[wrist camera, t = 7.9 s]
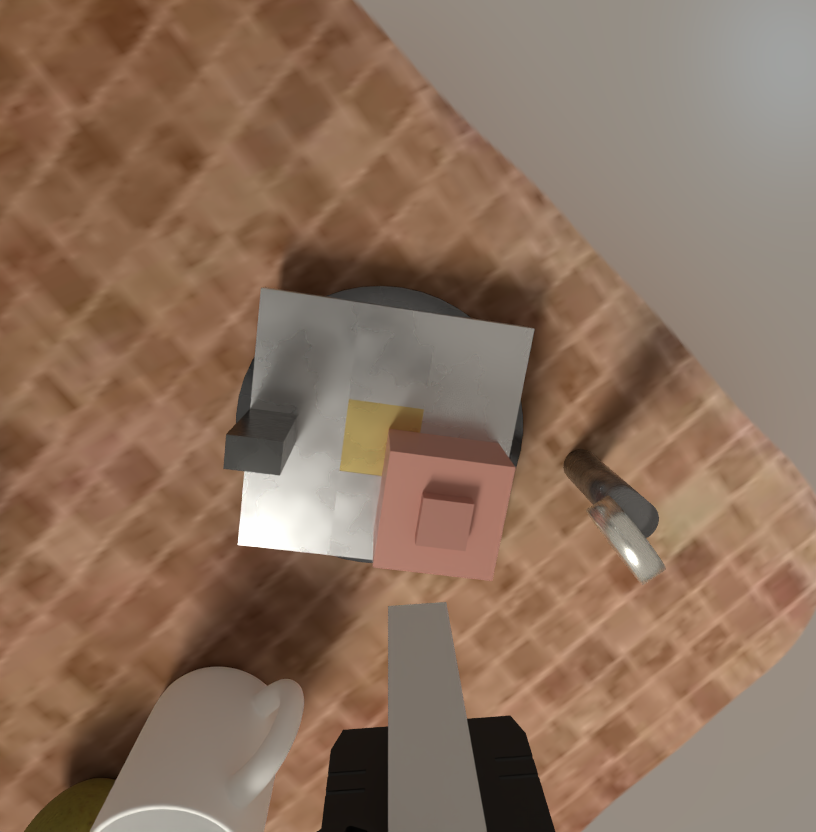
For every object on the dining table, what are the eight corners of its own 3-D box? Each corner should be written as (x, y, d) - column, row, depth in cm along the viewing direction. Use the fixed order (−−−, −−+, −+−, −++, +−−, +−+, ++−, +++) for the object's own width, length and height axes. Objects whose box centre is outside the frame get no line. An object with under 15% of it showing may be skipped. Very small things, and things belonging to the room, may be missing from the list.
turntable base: (180, 402, 33) (174, 406, 32) (409, 224, 31) (410, 222, 30) (356, 602, 37) (355, 612, 36) (571, 452, 35) (576, 457, 34)
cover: (373, 532, 33) (372, 575, 28) (388, 428, 31) (390, 456, 27) (478, 544, 33) (495, 589, 29) (498, 443, 32) (519, 473, 27)
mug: (266, 601, 36) (224, 727, 26) (355, 686, 38) (347, 835, 28) (128, 713, 38) (38, 873, 28) (220, 790, 39) (167, 967, 29)
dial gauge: (539, 455, 35) (607, 533, 25) (576, 429, 35) (660, 497, 24) (575, 505, 36) (655, 601, 25) (611, 480, 35) (707, 567, 25)
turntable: (242, 535, 34) (213, 593, 28) (265, 287, 30) (237, 291, 24) (482, 562, 35) (503, 624, 29) (528, 326, 32) (564, 339, 26)
